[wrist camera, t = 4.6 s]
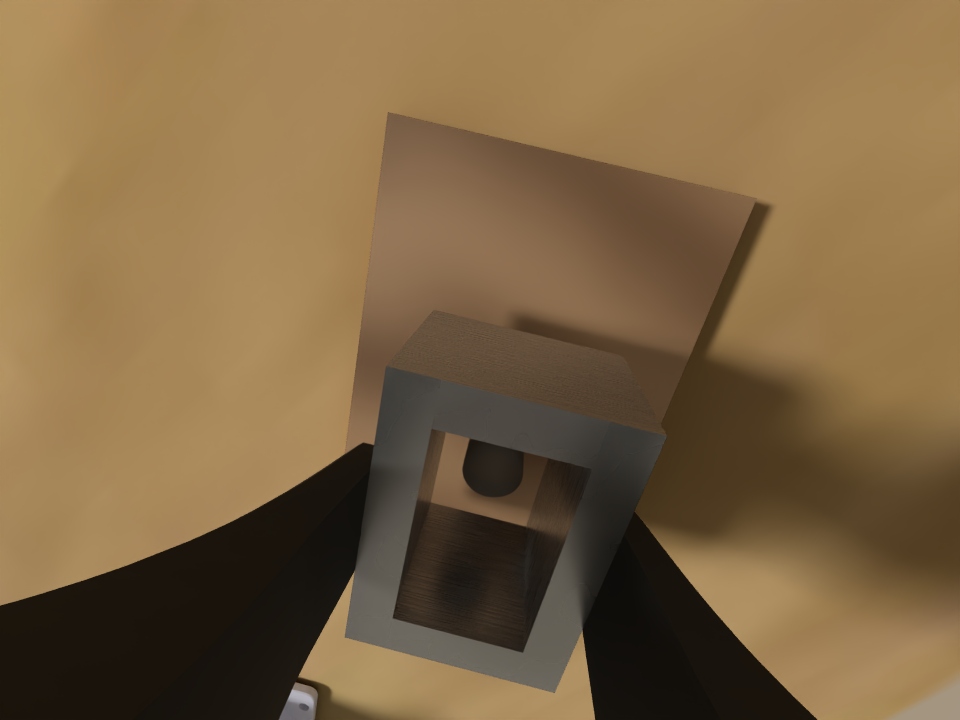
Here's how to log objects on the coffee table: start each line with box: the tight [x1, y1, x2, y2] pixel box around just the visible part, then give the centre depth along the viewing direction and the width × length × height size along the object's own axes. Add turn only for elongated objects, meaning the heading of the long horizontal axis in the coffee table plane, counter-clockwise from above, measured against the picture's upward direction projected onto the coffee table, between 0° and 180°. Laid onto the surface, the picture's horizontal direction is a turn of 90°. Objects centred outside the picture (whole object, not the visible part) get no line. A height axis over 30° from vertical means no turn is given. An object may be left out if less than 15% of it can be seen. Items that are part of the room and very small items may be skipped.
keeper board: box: [345, 112, 756, 526], centre depth 14 cm, size 16×10×4 cm, turn 168°
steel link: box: [345, 310, 667, 693], centre depth 11 cm, size 7×5×4 cm
